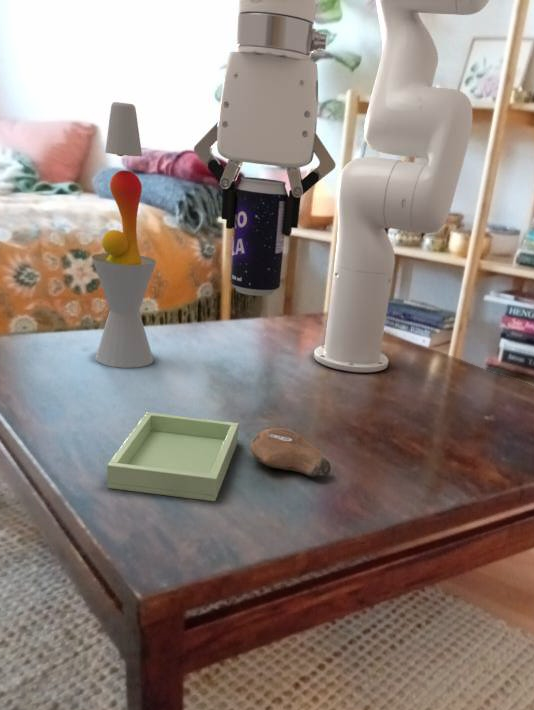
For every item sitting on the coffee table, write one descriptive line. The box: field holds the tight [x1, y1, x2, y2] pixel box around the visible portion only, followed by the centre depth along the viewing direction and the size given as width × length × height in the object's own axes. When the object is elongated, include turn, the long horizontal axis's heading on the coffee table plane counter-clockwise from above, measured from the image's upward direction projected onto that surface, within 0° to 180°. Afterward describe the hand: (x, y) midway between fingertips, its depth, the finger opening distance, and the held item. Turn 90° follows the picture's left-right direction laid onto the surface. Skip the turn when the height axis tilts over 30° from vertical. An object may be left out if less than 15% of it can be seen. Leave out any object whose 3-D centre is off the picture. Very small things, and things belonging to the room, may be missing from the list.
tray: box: [106, 411, 239, 502], centre depth 77 cm, size 15×11×3 cm
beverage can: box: [229, 176, 289, 297], centre depth 79 cm, size 6×6×12 cm
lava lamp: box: [91, 101, 157, 369], centre depth 101 cm, size 9×9×35 cm
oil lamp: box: [249, 427, 332, 478], centre depth 79 cm, size 9×4×8 cm
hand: (259, 229), depth 78 cm, fingers closed on beverage can, 5 cm apart
